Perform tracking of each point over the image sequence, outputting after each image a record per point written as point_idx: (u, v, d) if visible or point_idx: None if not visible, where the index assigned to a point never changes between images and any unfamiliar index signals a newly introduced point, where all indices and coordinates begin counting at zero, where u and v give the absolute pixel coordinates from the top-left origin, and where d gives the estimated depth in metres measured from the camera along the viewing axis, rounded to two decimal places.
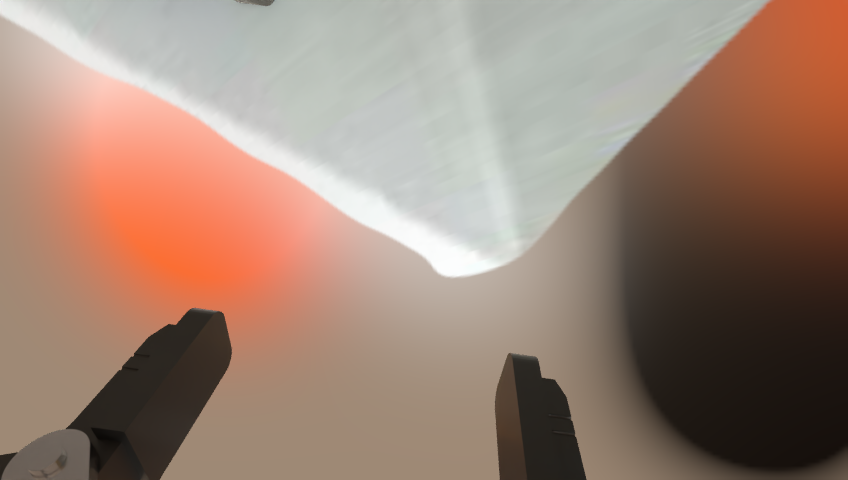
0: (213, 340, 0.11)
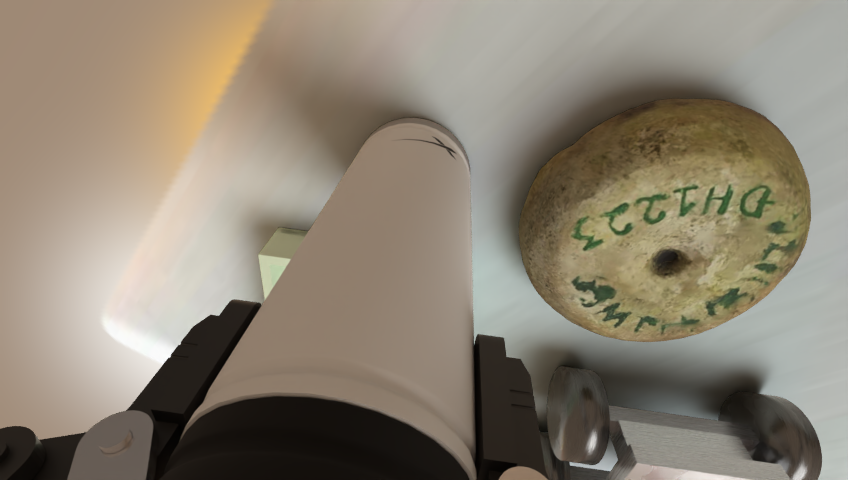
0: None
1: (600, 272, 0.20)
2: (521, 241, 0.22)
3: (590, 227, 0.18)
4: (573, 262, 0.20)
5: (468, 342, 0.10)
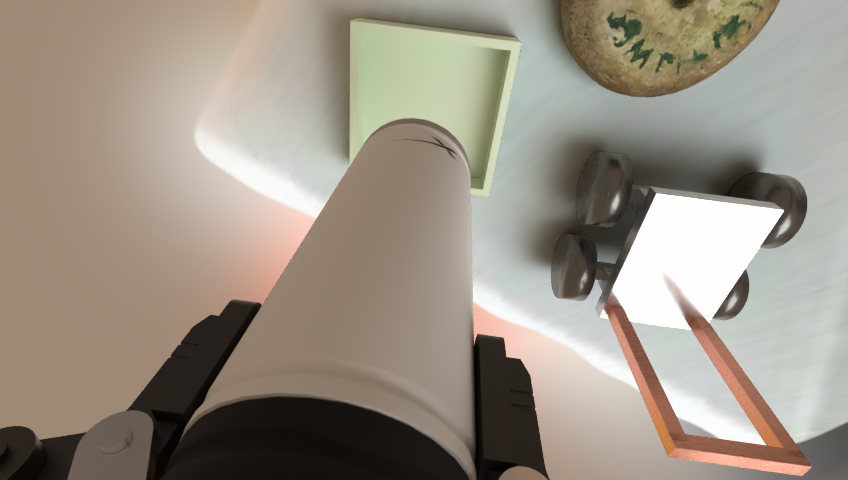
0: None
1: (630, 4, 0.25)
2: (563, 5, 0.28)
3: None
4: None
5: (468, 342, 0.10)
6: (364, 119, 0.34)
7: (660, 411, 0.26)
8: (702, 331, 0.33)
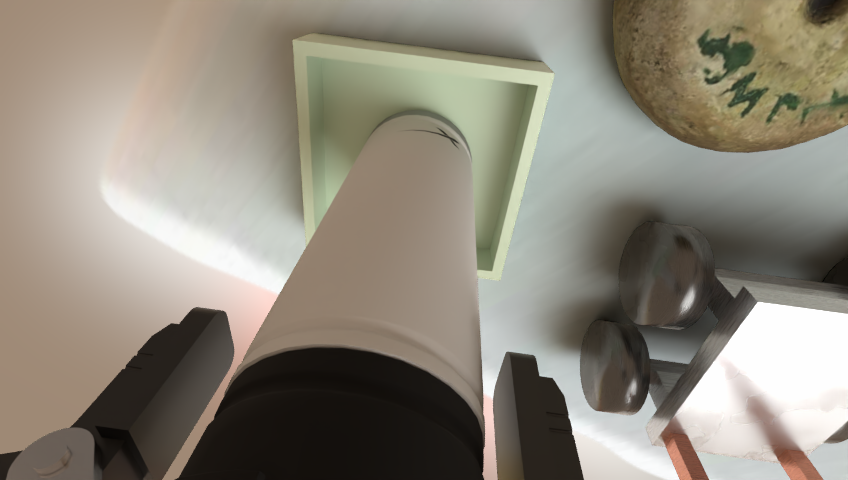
0: (216, 339, 0.11)
1: (739, 18, 0.15)
2: (621, 17, 0.18)
3: None
4: (705, 4, 0.15)
5: (475, 311, 0.12)
6: (326, 172, 0.24)
7: None
8: (804, 477, 0.23)
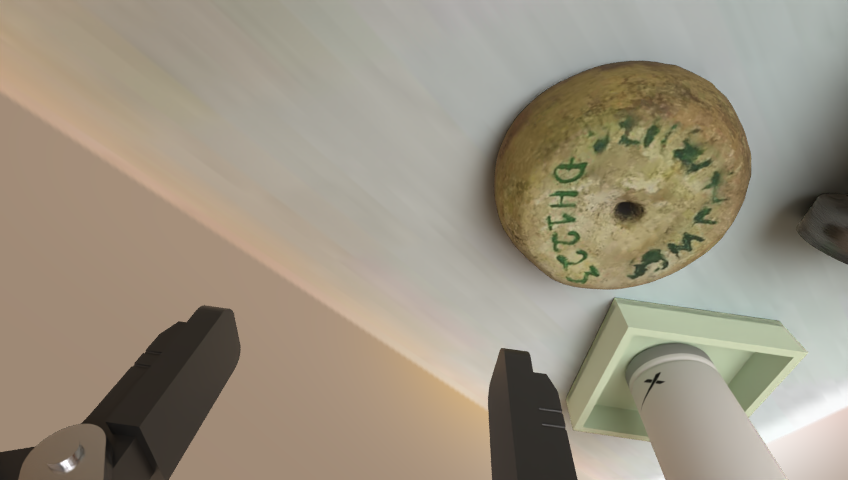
0: (223, 337, 0.11)
1: (624, 263, 0.23)
2: None
3: (576, 275, 0.23)
4: (610, 280, 0.24)
5: None
6: None
7: None
8: None
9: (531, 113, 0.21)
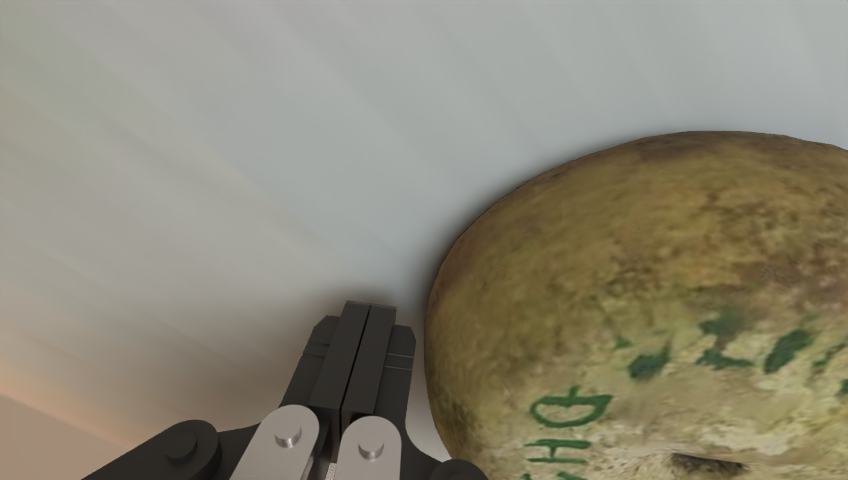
0: None
1: None
2: None
3: None
4: None
5: None
6: None
7: None
8: None
9: (480, 250, 0.09)
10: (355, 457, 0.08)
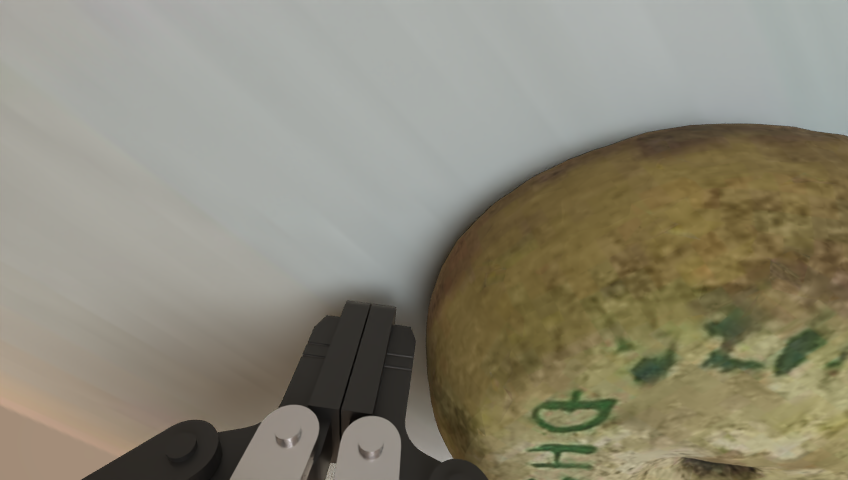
0: None
1: None
2: None
3: None
4: None
5: None
6: None
7: None
8: None
9: (479, 252, 0.09)
10: (355, 457, 0.08)
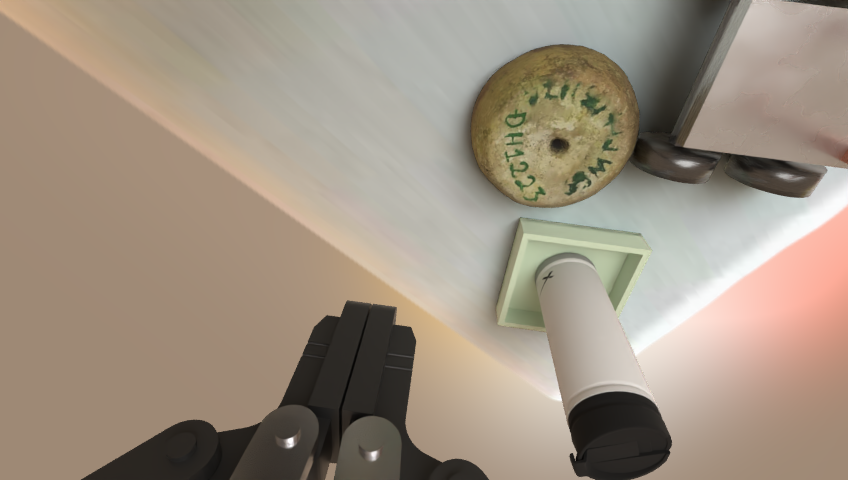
0: None
1: (561, 183, 0.33)
2: None
3: (529, 194, 0.34)
4: (553, 197, 0.34)
5: (593, 354, 0.30)
6: None
7: None
8: None
9: (490, 83, 0.32)
10: (355, 457, 0.08)
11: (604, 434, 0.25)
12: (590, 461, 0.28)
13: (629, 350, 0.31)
